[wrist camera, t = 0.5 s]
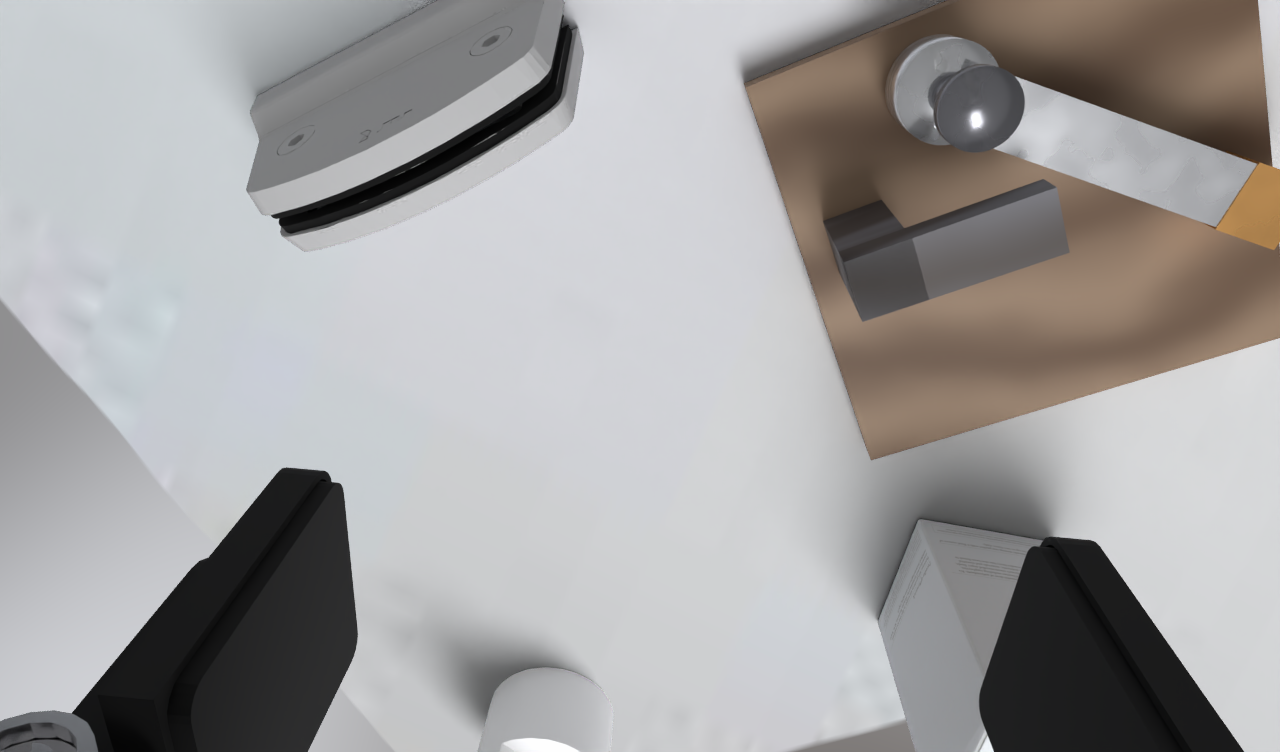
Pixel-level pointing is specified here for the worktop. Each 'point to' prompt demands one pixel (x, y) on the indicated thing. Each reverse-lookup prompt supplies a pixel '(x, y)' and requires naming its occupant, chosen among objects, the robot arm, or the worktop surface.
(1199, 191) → the link
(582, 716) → the cylinder with rectangular tab
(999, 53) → the board
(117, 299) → the worktop surface
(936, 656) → the supplement box
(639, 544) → the worktop surface
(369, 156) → the grey electronic device
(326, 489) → the robot arm
